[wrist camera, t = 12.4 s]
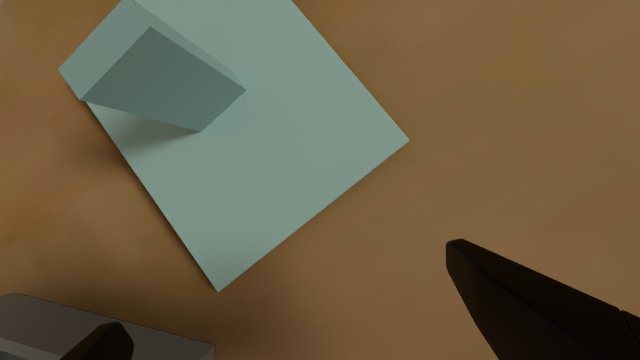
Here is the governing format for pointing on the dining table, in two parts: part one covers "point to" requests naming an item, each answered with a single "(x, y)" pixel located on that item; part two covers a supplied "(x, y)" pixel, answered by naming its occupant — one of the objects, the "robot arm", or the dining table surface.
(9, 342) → the tub
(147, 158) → the lid
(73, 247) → the dining table surface
